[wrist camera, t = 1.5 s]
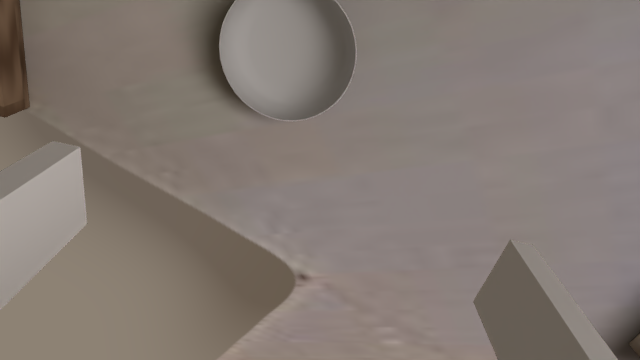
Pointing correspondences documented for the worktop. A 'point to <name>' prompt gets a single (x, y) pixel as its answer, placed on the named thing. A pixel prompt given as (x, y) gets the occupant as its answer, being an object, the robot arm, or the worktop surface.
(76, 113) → the worktop surface
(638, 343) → the box
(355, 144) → the worktop surface
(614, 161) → the worktop surface
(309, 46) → the saucepan
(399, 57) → the worktop surface
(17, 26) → the wooden tray
